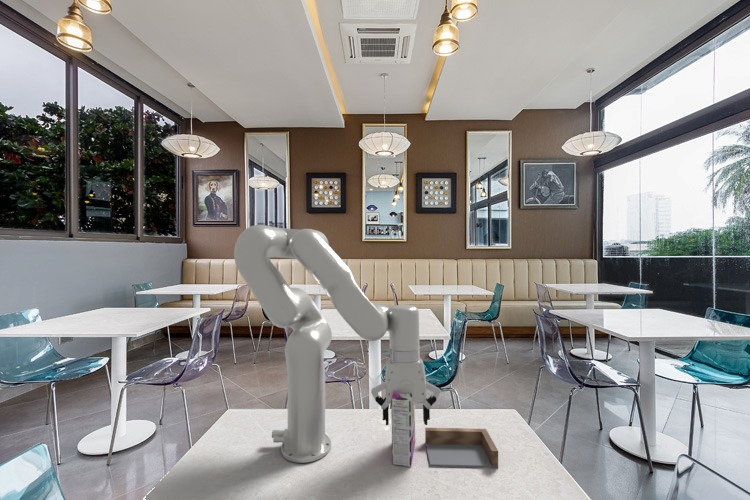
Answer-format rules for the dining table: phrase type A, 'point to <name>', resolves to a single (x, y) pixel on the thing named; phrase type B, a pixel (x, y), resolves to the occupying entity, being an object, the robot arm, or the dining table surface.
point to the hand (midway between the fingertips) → (406, 422)
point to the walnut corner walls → (463, 439)
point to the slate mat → (457, 456)
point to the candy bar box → (403, 429)
